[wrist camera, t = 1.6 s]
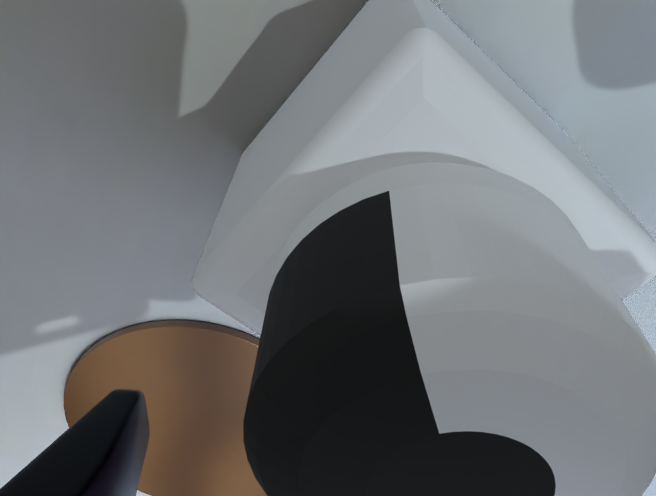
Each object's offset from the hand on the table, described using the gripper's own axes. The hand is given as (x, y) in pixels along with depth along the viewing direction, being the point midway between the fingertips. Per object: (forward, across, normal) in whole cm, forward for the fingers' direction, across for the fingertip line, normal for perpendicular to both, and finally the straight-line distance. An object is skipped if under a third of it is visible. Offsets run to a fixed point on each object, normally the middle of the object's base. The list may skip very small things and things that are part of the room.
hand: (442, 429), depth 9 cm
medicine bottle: (+11, 0, 0) cm, 11 cm away
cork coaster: (+11, +7, +13) cm, 18 cm away
